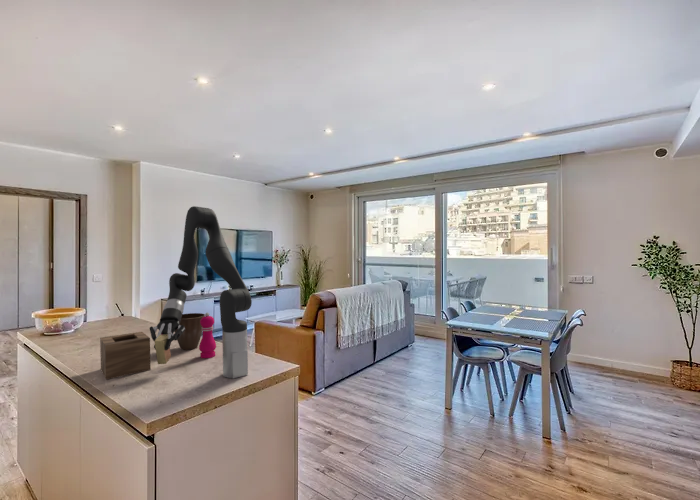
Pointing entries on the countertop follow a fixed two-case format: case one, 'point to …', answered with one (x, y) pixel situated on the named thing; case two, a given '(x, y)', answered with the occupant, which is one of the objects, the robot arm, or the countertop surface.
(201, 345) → the pepper mill
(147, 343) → the wooden box
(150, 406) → the countertop surface
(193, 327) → the plant pot
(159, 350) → the beige rectangular block
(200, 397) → the countertop surface
